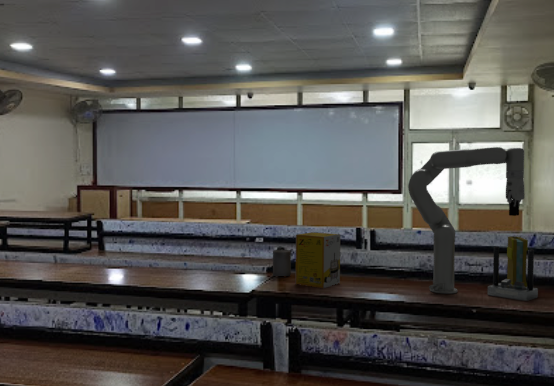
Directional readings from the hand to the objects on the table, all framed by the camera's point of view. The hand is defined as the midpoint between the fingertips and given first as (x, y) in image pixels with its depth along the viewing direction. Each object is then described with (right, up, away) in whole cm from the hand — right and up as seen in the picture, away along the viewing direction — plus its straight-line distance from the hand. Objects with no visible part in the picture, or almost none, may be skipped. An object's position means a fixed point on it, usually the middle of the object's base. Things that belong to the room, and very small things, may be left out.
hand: (514, 215), depth 269 cm
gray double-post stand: (0, -37, +1) cm, 37 cm away
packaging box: (-88, -36, +28) cm, 99 cm away
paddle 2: (+2, -32, -1) cm, 32 cm away
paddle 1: (-2, -32, +3) cm, 32 cm away
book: (+8, -37, +17) cm, 41 cm away
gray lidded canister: (-106, -35, +51) cm, 122 cm away
